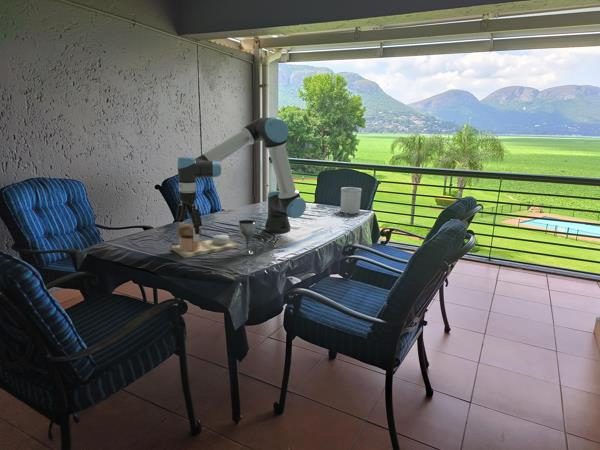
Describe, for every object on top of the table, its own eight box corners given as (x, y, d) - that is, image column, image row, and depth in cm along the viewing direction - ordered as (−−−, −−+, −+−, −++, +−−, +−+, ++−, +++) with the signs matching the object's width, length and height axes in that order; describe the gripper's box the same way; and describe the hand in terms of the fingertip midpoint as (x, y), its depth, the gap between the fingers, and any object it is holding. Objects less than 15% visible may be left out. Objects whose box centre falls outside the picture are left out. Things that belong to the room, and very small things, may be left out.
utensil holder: (340, 209, 287) (341, 186, 282) (359, 210, 285) (361, 187, 280) (339, 213, 272) (340, 189, 268) (360, 214, 270) (361, 190, 266)
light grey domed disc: (231, 241, 192) (231, 235, 191) (225, 245, 184) (225, 239, 183) (217, 239, 193) (216, 234, 193) (210, 244, 186) (209, 238, 185)
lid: (205, 231, 181) (205, 224, 180) (194, 237, 170) (194, 230, 170) (184, 229, 183) (184, 223, 182) (172, 234, 172) (171, 228, 172)
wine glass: (239, 249, 184) (239, 219, 180) (256, 249, 184) (256, 219, 181) (238, 255, 176) (238, 223, 172) (255, 255, 177) (255, 223, 173)
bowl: (203, 246, 182) (202, 234, 180) (193, 252, 173) (193, 239, 172) (185, 244, 184) (185, 232, 182) (176, 250, 175) (175, 237, 174)
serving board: (224, 240, 198) (224, 237, 198) (239, 247, 187) (239, 244, 187) (171, 249, 181) (171, 246, 180) (184, 257, 170) (184, 254, 169)
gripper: (166, 189, 177) (169, 234, 182) (194, 195, 162) (196, 245, 167) (181, 187, 182) (183, 231, 188) (209, 194, 167) (210, 241, 172)
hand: (189, 238), depth 177 cm, fingers closed on lid, 11 cm apart
